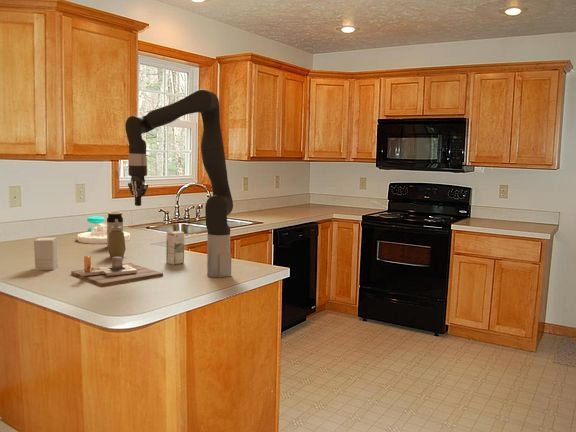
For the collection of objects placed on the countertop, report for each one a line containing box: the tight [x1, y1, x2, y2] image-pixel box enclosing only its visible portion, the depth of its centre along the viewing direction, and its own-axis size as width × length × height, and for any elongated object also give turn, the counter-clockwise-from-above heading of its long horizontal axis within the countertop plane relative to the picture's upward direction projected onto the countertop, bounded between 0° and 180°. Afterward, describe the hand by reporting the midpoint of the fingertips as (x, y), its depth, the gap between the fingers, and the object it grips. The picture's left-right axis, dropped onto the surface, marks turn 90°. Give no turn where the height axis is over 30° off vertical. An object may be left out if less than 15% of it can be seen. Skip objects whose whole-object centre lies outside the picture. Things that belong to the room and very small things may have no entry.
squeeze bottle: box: [107, 219, 126, 258], centre depth 244 cm, size 8×8×18 cm
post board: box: [70, 257, 164, 288], centre depth 209 cm, size 26×26×7 cm
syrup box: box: [165, 230, 185, 265], centre depth 234 cm, size 6×6×14 cm
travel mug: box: [106, 211, 124, 247], centre depth 272 cm, size 8×8×18 cm
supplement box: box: [33, 237, 59, 271], centre depth 217 cm, size 7×7×13 cm
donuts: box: [86, 215, 105, 232], centre depth 314 cm, size 10×10×10 cm
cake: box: [77, 222, 131, 245], centre depth 293 cm, size 28×28×10 cm
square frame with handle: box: [83, 255, 137, 276], centre depth 207 cm, size 19×12×7 cm, turn 126°
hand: (138, 205), depth 220 cm, fingers closed
